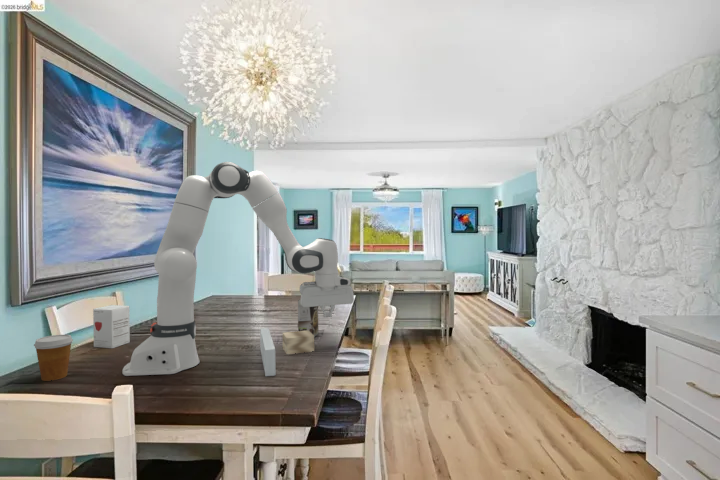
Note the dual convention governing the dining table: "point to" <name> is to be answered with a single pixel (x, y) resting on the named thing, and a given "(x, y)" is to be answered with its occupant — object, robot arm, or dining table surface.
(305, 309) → the coffee box
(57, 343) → the disposable coffee cup
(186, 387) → the dining table surface
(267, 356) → the board
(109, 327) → the supplement box
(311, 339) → the maple block
